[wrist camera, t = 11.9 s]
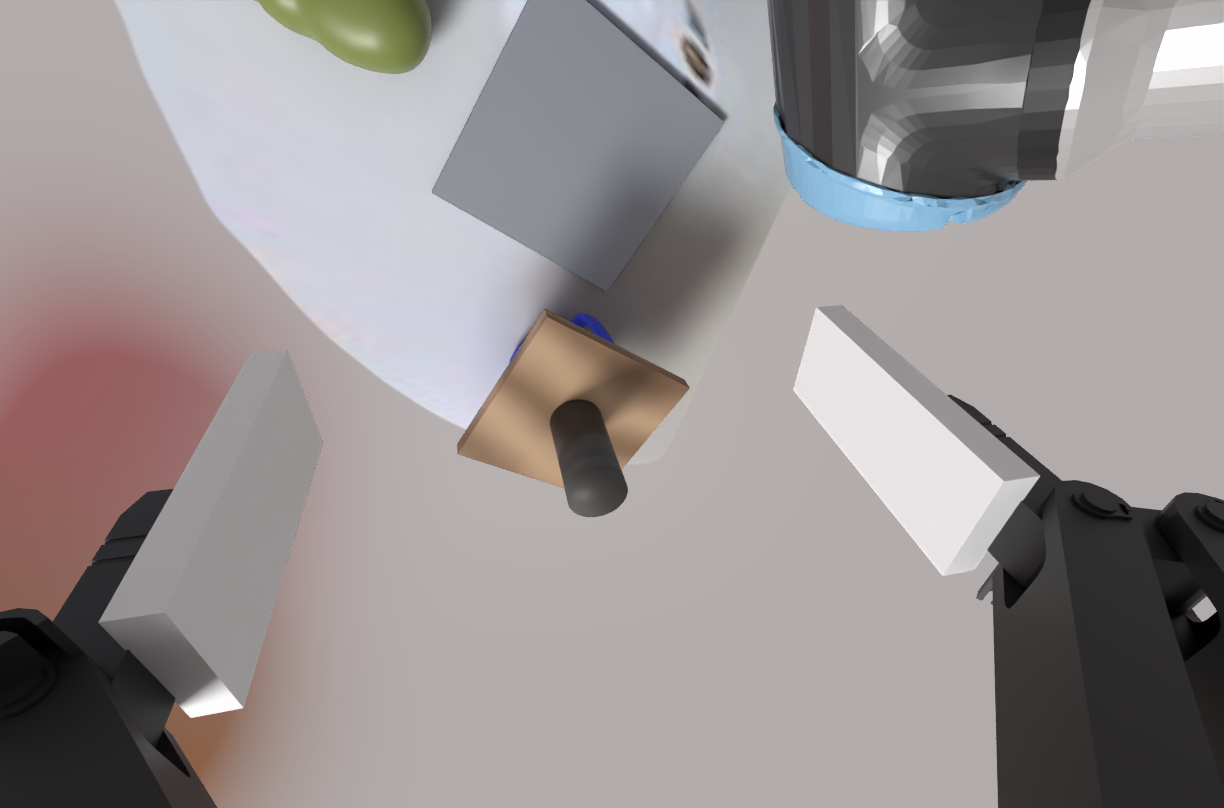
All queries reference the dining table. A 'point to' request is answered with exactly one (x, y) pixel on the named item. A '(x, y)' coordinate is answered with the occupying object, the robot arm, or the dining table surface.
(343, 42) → the pear
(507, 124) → the mat
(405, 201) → the dining table surface
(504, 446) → the lid
